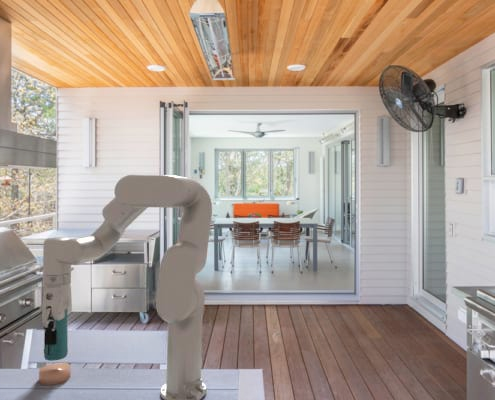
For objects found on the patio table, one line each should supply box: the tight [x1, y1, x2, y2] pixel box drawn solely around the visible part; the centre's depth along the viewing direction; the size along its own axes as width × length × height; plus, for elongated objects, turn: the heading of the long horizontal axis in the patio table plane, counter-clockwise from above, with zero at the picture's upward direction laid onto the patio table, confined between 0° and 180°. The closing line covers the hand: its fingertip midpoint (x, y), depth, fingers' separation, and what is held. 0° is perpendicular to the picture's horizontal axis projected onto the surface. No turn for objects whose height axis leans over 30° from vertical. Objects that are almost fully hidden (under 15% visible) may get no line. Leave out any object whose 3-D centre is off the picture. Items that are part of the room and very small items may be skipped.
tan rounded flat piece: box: [38, 362, 72, 386], centre depth 119 cm, size 8×8×3 cm
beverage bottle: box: [43, 309, 69, 362], centre depth 119 cm, size 6×7×20 cm
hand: (55, 339), depth 119 cm, fingers closed on beverage bottle, 6 cm apart
